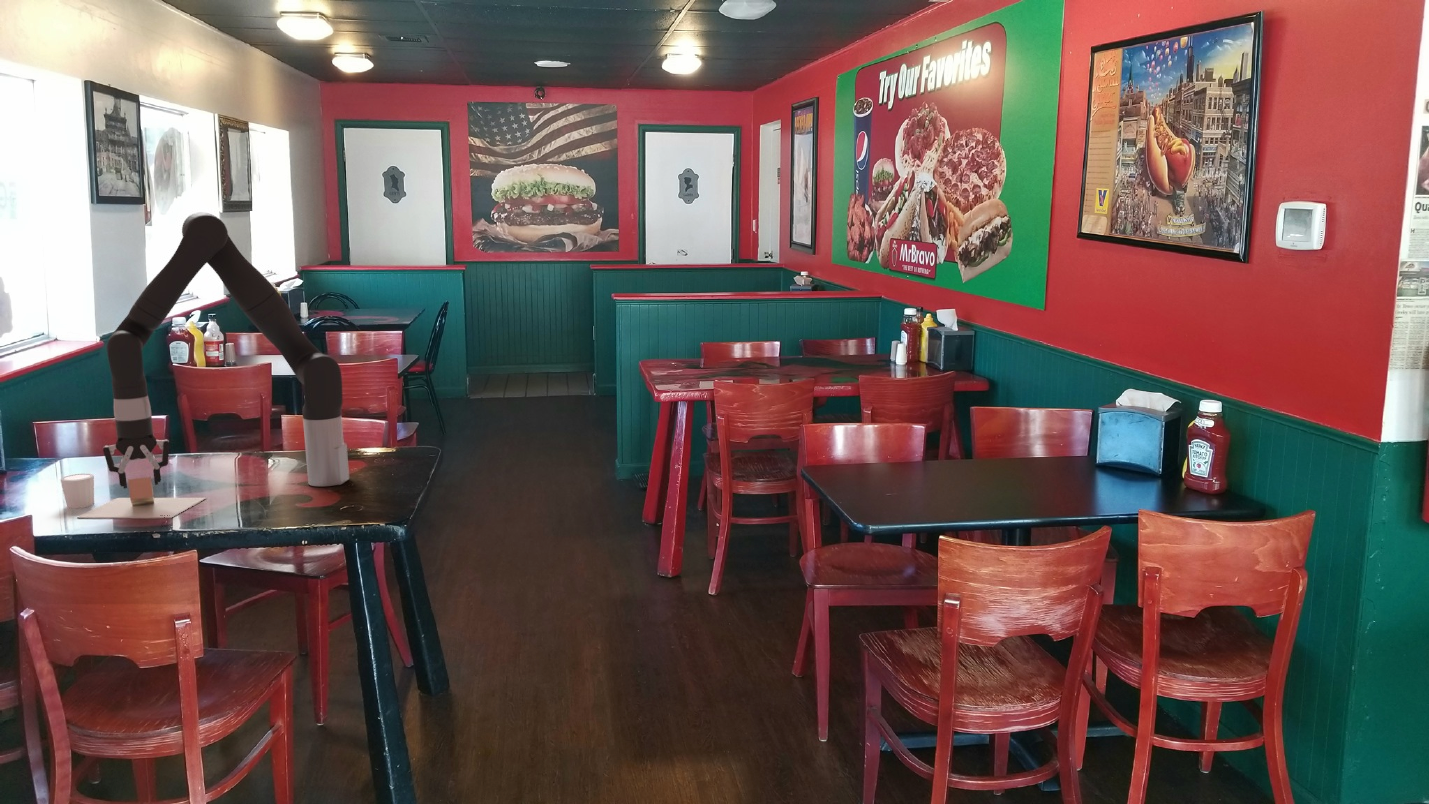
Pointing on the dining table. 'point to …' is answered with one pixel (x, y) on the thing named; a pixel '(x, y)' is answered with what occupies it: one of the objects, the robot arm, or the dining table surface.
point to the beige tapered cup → (78, 490)
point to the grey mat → (142, 508)
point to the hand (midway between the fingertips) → (141, 485)
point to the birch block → (141, 491)
